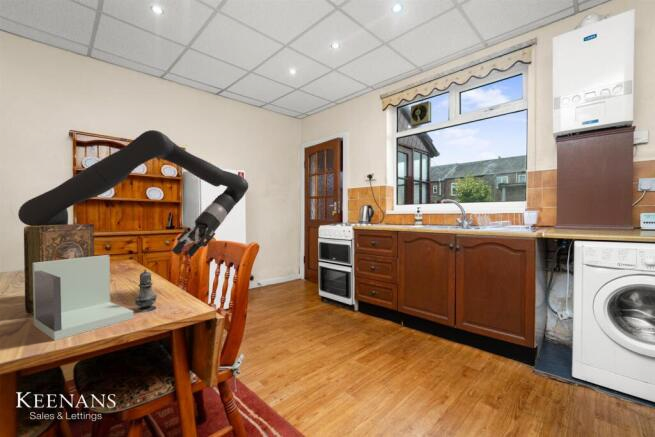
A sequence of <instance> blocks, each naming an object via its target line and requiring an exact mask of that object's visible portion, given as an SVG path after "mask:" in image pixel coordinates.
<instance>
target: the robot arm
mask: <svg viewBox="0 0 655 437" xmlns="http://www.w3.org/2000/svg"><path fill="white" fill-rule="evenodd" d="M155 158H156V159H160V160H164V161H166V162H169V163H172V164H174V165H176V166H179V167H180V168H182V169H184V170H186V171H187V172H189V173H190V174H192V175H194V176H195V177H197V178H199V179H200V180H202V181H204V182H206V183H208V184H210V185H211V186H213V187H217V188H218V187H220V186H223V187H226V188H225V189H224V191H223V192H222V193H219V195H217V197H215V199H214V200H212V202H211V203H210V204H209V205H208V206H206V207H205V209H204V210H203V211H202V212H201V213H200V214H199V216H197V218H196V219H195V221H194V224H195V226H193V228H190V227H186V229H185V230H184V231H183V232H182V233H181V234H180V235H179V236H178V237H177V238H176V241H177V242H178V243H176V245H175V246H174V247H173V248H172V249H171V251H172V252H173V254H175V255H178V254H179V253H180V252H181V251H182V250H183V248H185V246H187V245H188V244H191V246H189V248H188V249H187V250H186V254H187V255H188V256H189V257H193V256H194V255H195V254H196V252H197V251H198V250H199V249H202V247H203V248H205V247H207V246H208V244H209V243H210V242H211V241H212V239H213V238H214V237H215V235H216V233H215V232H216V231H217V229H218V228H219V227H220V226H221V225H222V223H224V221H225V219H226V218H227V216H228V215H229V214H230V212H232V210H233V208H234V207H236V205H237V204H238V203H239V202H240V201H241V200H242V198H244V196H245V194H246V193H247V191H248V188H249V182H248V181H247V180H246V178H244V177H243V176H242V175H240V174H237V173H233V172H230V171H226V170H223V169H222V168H220V167H218V166H216V165H214V164H212V163H211V162H209V161H207V160H205V159H203V158H201V157H198V156H196V155H194V154H192V153H190V152H189V151H187V150H185V149H184V148H182V147H180V145H178V144H176V143H175V142H174V141H172V140H171V139H170V138H169V137H168V136H167V135H166V134H164V133H163V132H161V131H158V130H156V129H155V130H153V129H152V130H150V129H149V130H147V131H144V132H143V133H141V134H140V135H139V136H137V137H136V138H134V139H133V140H132V141H131V142H129V143H128V144H127V145H125V146H124V147H122V148H121V149H119V150H117V151H116V152H114V153H111V154H109V155H108V156H106V157H105V158H102V159H101V160H99V161H96V162H95V163H94V164H91V165H90V166H88V167H86V168H85V169H83V170H82V171H80V172H79V173H77V174H75V175H74V176H72V177H70V178H69V179H66V181H64V182H62V183H60V184H59V185H58V186H56V187H54V188H52V189H50V190H48V191H45V192H44V193H41V194H39V195H36V196H35V197H33V198H30V199H28V200H27V201H25V202H24V203H23V204H22V205H21V206H20V208H19V209H18V212H17V214H18V215H17V216H18V219H19V221H20V222H21V223H22V224H24V225H25V226H43V225H68V224H69V212H68V208H70V207H72V206H73V205H76V204H78V203H81V202H84V201H87V200H90V199H93V198H96V197H98V196H100V195H101V196H102V195H103V194H104V193H107V192H108V191H111V190H112V189H113V188H115V187H116V186H118V185H119V184H121V183H122V182H123V181H125V180H126V178H128V177H129V175H131V173H132V172H133V171H134V170H135V169H136V168H138V167H139V166H142V165H143V164H145V163H147V162H149V161H151V160H152V159H155ZM192 243H193V244H192Z"/></svg>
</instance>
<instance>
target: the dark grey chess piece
mask: <svg viewBox="0 0 655 437" xmlns="http://www.w3.org/2000/svg"><path fill="white" fill-rule="evenodd" d="M152 285H153V282H152V273H150V272H148V271H147V269H145V268H144V270H143V272H142V273H140V274H139V284H138V287H139V294H138V295H137V296H136V297H134V299H133V301H134V302H135V305H136V306H137V307H138V308H136V309H135V313H148V312H151V311H155V310H156V309H157V306H155V305H154V304H155V303H156V301H157V297H158V295H157V294H154V293H153V288H152Z"/></svg>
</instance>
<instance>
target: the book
mask: <svg viewBox="0 0 655 437" xmlns="http://www.w3.org/2000/svg"><path fill="white" fill-rule="evenodd" d="M94 227H95V224H94V223H73V224H72V223H71V224H69V223H68V225H43V226H29V225H25V226H24V228H23V258H24V259H23V263H24V264H23V266H24V269H23V270H24V272H23V273H24V308H25V313H27V314H34V303H33V263H36V262H46V261H55V260H65V259H74V258H84V257H93V256H95V228H94Z"/></svg>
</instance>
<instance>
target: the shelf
mask: <svg viewBox="0 0 655 437" xmlns="http://www.w3.org/2000/svg"><path fill="white" fill-rule="evenodd" d="M110 263H111V262H110V254H105V255H104V254H103V255H94V256H93V257H84V258H74V259H65V260H55V261H46V262H36V263H33V303H34V313H33V326H34V327H35V328H36V329H39V330H40V331H41V332H42V333H44V334H45V335H47V336H48V337H49V338H50V339H52V340H53V341H58V340H62V339H65V338H69V337H72V336H75V335H79V334H82V333H86V332H89V331H93V330H98V329H100V328H104V327H107V326H112V325H115V324H119V323H122V322H125V321H128V320H129V321H130V320H133V319H135V318H134V310H132V309H130V308H126V307H124V306H121V305H119V304H116V303H114V302H111V273H110V272H111V270H110V269H111V268H110V267H111V266H110Z"/></svg>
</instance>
